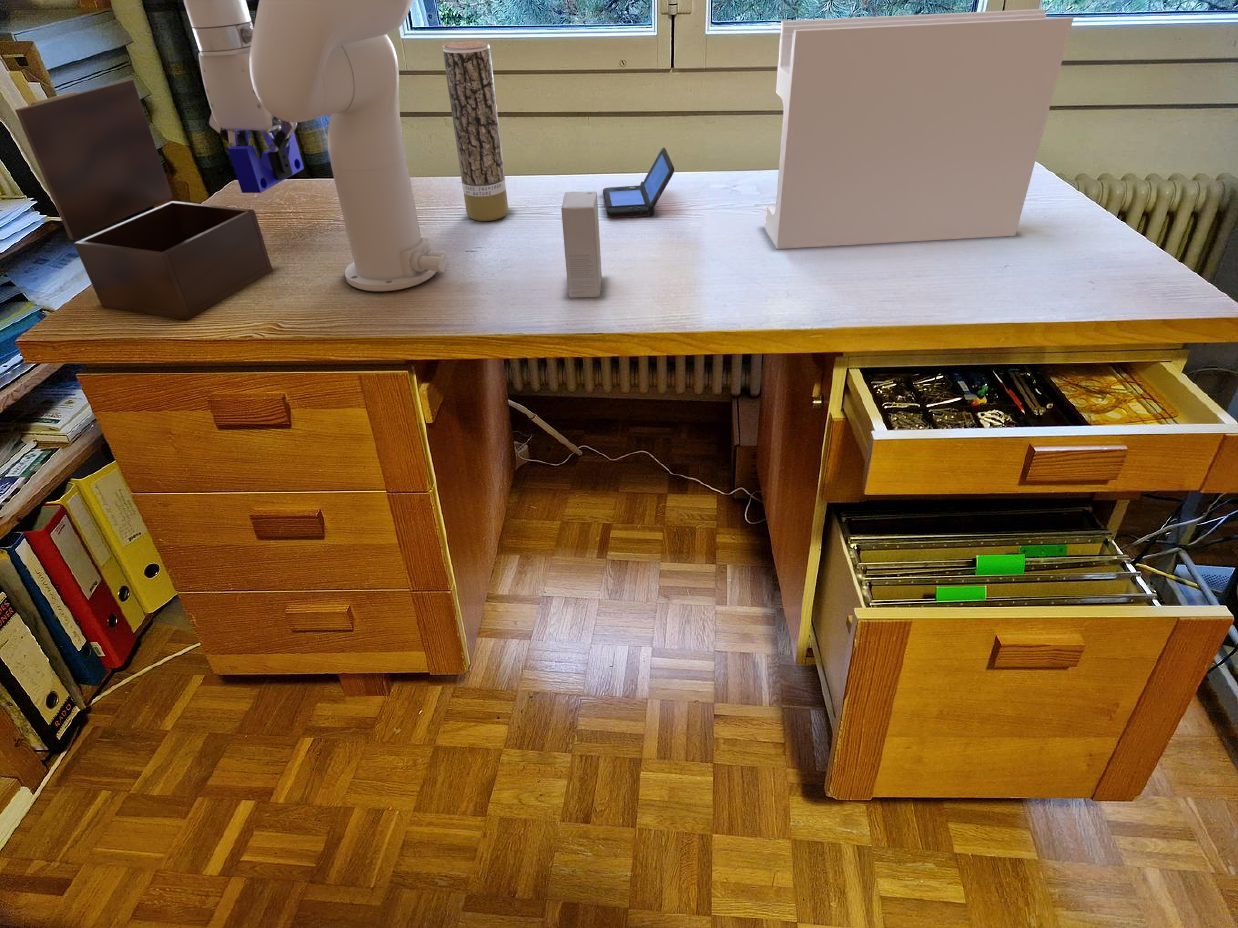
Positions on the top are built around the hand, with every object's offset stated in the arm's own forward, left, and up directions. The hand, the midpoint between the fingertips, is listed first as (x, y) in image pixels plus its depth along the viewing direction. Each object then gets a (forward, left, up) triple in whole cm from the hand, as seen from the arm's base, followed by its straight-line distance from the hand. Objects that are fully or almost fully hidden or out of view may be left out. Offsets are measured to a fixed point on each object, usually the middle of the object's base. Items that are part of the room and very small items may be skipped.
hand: (268, 175), depth 119 cm
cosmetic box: (-51, +3, -10) cm, 52 cm away
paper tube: (-25, -19, -10) cm, 33 cm away
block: (-87, -28, -10) cm, 92 cm away
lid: (+8, +18, +7) cm, 21 cm away
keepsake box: (+2, +18, -10) cm, 21 cm away
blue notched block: (0, 0, -1) cm, 1 cm away
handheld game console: (-47, -30, -10) cm, 57 cm away
